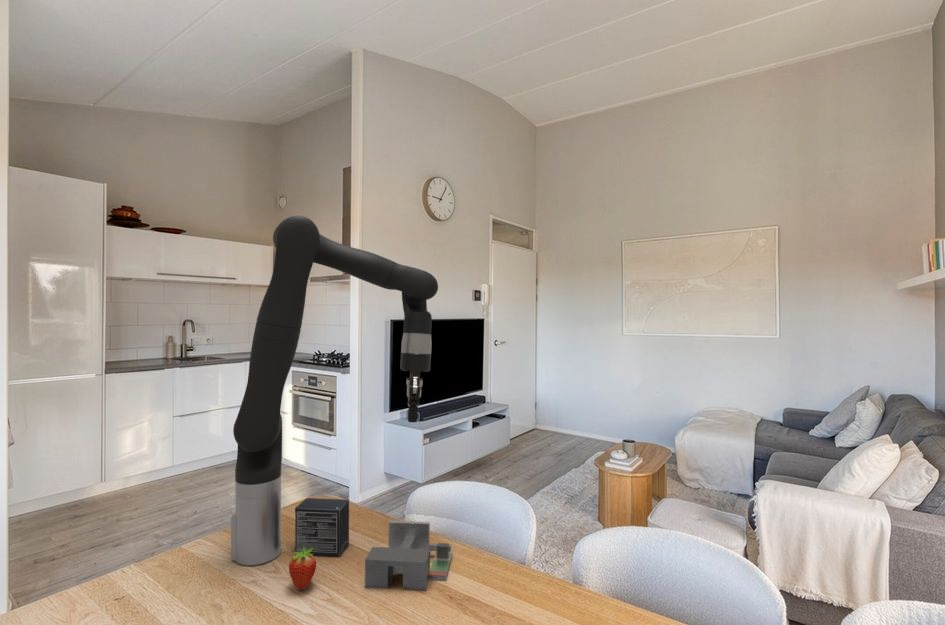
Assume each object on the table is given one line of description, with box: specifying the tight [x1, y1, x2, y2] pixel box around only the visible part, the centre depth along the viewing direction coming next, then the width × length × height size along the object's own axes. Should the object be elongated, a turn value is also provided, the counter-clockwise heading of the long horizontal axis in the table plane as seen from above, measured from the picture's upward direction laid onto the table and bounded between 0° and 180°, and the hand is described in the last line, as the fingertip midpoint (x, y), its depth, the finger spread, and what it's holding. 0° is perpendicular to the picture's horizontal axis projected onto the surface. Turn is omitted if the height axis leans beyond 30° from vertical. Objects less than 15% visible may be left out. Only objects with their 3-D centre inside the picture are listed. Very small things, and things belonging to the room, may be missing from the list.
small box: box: [294, 497, 350, 558], centre depth 108 cm, size 11×6×10 cm, turn 84°
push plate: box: [388, 520, 452, 575], centre depth 101 cm, size 14×11×7 cm
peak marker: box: [436, 542, 450, 558], centre depth 104 cm, size 2×2×2 cm, turn 85°
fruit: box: [288, 546, 317, 591], centre depth 93 cm, size 5×5×8 cm
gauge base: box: [364, 546, 453, 592], centre depth 100 cm, size 16×14×6 cm
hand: (412, 421), depth 119 cm, fingers closed
